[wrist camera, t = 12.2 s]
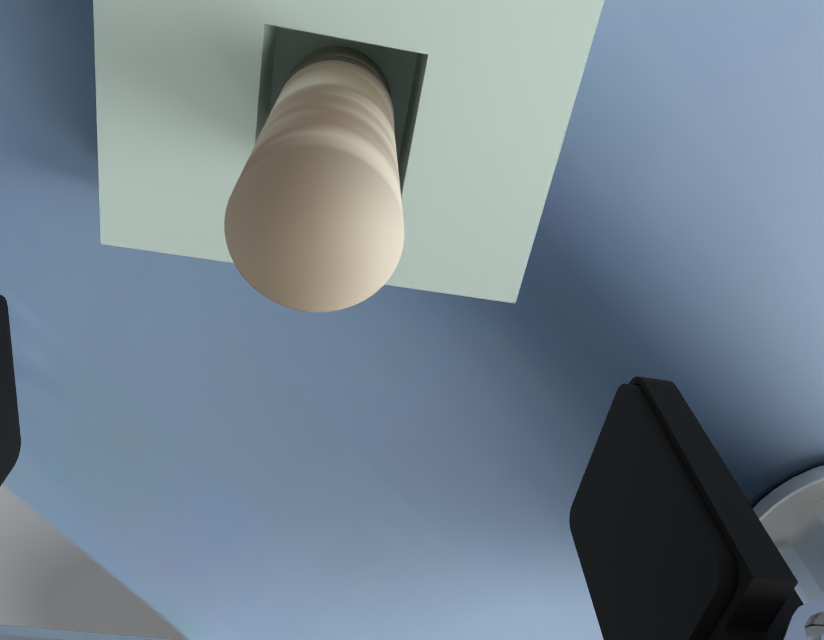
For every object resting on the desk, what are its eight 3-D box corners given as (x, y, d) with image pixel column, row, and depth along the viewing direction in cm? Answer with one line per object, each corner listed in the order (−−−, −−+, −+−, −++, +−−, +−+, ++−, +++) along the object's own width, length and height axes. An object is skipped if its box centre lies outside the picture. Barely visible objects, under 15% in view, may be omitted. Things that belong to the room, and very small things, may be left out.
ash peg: (399, 48, 27) (422, 161, 15) (382, 152, 29) (389, 324, 17) (292, 28, 27) (227, 128, 15) (281, 135, 29) (217, 301, 17)
